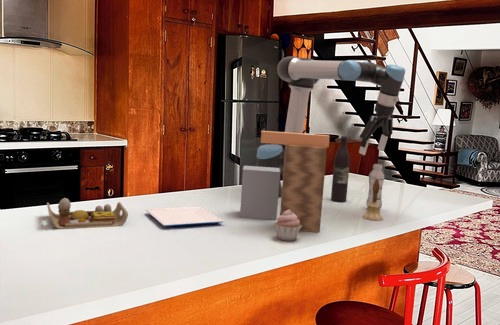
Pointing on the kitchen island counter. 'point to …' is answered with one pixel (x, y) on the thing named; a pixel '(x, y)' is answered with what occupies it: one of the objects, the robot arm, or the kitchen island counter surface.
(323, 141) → the bar
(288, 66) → the robot arm
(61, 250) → the kitchen island counter surface
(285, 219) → the cupcake
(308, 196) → the tall wooden block
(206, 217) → the plate
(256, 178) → the grey rectangular block
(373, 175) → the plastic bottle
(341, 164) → the wine bottle
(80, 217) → the toy food set
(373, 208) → the hand bell
